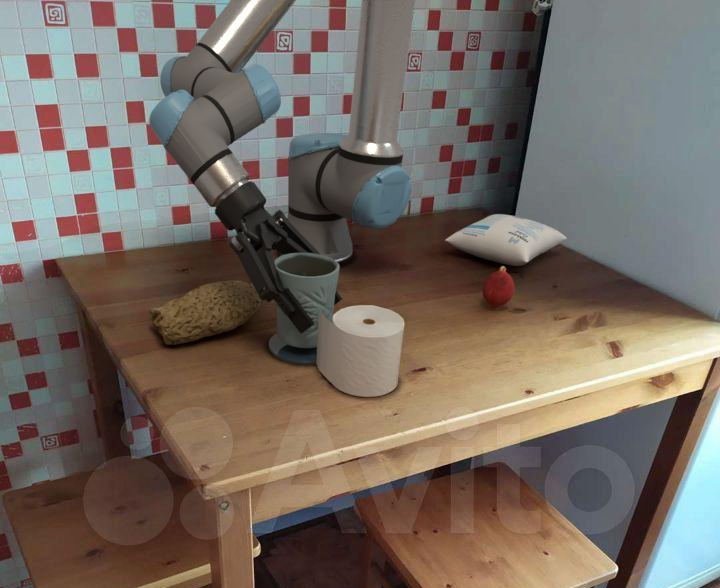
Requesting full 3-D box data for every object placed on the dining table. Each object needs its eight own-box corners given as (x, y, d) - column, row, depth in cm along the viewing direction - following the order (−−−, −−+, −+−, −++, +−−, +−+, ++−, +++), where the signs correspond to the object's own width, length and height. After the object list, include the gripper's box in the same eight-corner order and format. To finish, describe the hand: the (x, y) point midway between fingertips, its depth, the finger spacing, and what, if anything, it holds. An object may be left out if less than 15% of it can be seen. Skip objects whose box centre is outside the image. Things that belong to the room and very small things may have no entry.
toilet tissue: (405, 396, 114) (413, 335, 108) (327, 400, 111) (330, 338, 105) (388, 361, 122) (395, 303, 116) (315, 364, 120) (317, 305, 114)
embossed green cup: (287, 354, 117) (289, 280, 110) (262, 326, 124) (263, 255, 117) (345, 344, 121) (351, 272, 114) (318, 317, 128) (322, 248, 121)
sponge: (176, 363, 119) (286, 317, 126) (158, 317, 115) (273, 271, 121) (151, 341, 129) (254, 299, 136) (134, 298, 125) (242, 257, 131)
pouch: (493, 199, 170) (448, 216, 156) (571, 224, 162) (532, 244, 148) (485, 234, 174) (441, 254, 161) (561, 260, 167) (522, 282, 153)
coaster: (255, 353, 121) (255, 350, 121) (288, 325, 130) (288, 322, 129) (321, 371, 118) (321, 368, 118) (350, 342, 127) (350, 338, 126)
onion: (509, 316, 139) (518, 275, 134) (478, 312, 140) (486, 270, 135) (510, 304, 144) (519, 263, 139) (480, 299, 145) (488, 259, 140)
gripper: (252, 191, 124) (334, 302, 130) (176, 230, 108) (273, 356, 113) (282, 163, 120) (365, 279, 125) (206, 199, 103) (307, 332, 108)
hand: (322, 316), depth 119 cm, fingers closed on embossed green cup, 10 cm apart
